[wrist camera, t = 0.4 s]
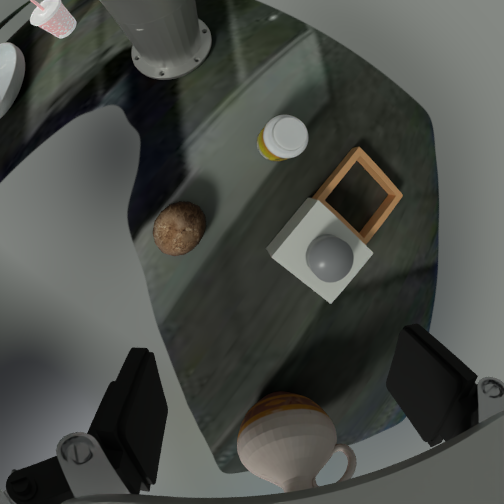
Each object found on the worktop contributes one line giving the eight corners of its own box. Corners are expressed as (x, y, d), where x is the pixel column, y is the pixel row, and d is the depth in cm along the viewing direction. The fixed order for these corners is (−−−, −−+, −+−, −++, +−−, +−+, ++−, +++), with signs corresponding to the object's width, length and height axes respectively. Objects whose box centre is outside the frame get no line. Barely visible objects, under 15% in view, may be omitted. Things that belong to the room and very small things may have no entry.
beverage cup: (48, 34, 29) (10, 8, 15) (71, 11, 28) (38, -20, 15) (61, 46, 30) (21, 18, 17) (85, 22, 30) (51, -12, 16)
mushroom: (135, 211, 37) (150, 230, 33) (183, 183, 39) (203, 196, 35) (158, 251, 42) (174, 272, 38) (199, 224, 45) (220, 241, 41)
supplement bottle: (267, 168, 40) (281, 165, 30) (249, 136, 39) (257, 122, 29) (300, 151, 40) (322, 144, 30) (282, 119, 38) (299, 102, 29)
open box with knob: (266, 248, 43) (275, 263, 35) (350, 145, 40) (374, 140, 32) (320, 291, 46) (337, 312, 38) (396, 196, 43) (424, 201, 35)
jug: (329, 363, 50) (395, 487, 21) (325, 419, 55) (367, 524, 26) (227, 380, 49) (236, 525, 20) (240, 434, 54) (252, 549, 25)
